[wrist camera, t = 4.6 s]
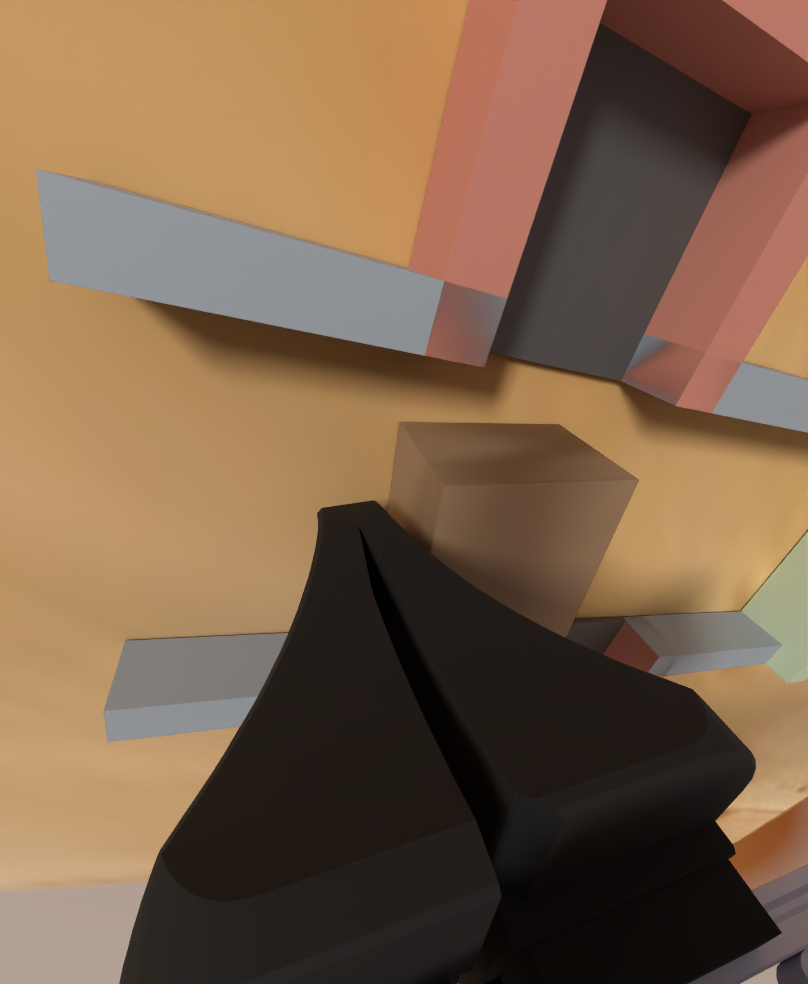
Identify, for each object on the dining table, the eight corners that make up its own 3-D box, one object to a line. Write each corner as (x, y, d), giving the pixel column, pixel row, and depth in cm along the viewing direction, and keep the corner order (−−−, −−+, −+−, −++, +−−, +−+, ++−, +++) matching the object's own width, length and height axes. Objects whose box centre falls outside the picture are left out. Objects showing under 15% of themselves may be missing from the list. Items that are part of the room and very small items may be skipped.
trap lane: (1068, 248, 14) (1243, 255, 11) (682, 698, 24) (730, 752, 22) (35, -508, 4) (-282, -1549, 2) (136, 779, 14) (112, 893, 12)
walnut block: (558, 424, 12) (639, 479, 9) (511, 566, 14) (564, 639, 12) (399, 422, 10) (444, 486, 8) (378, 580, 13) (407, 666, 10)
